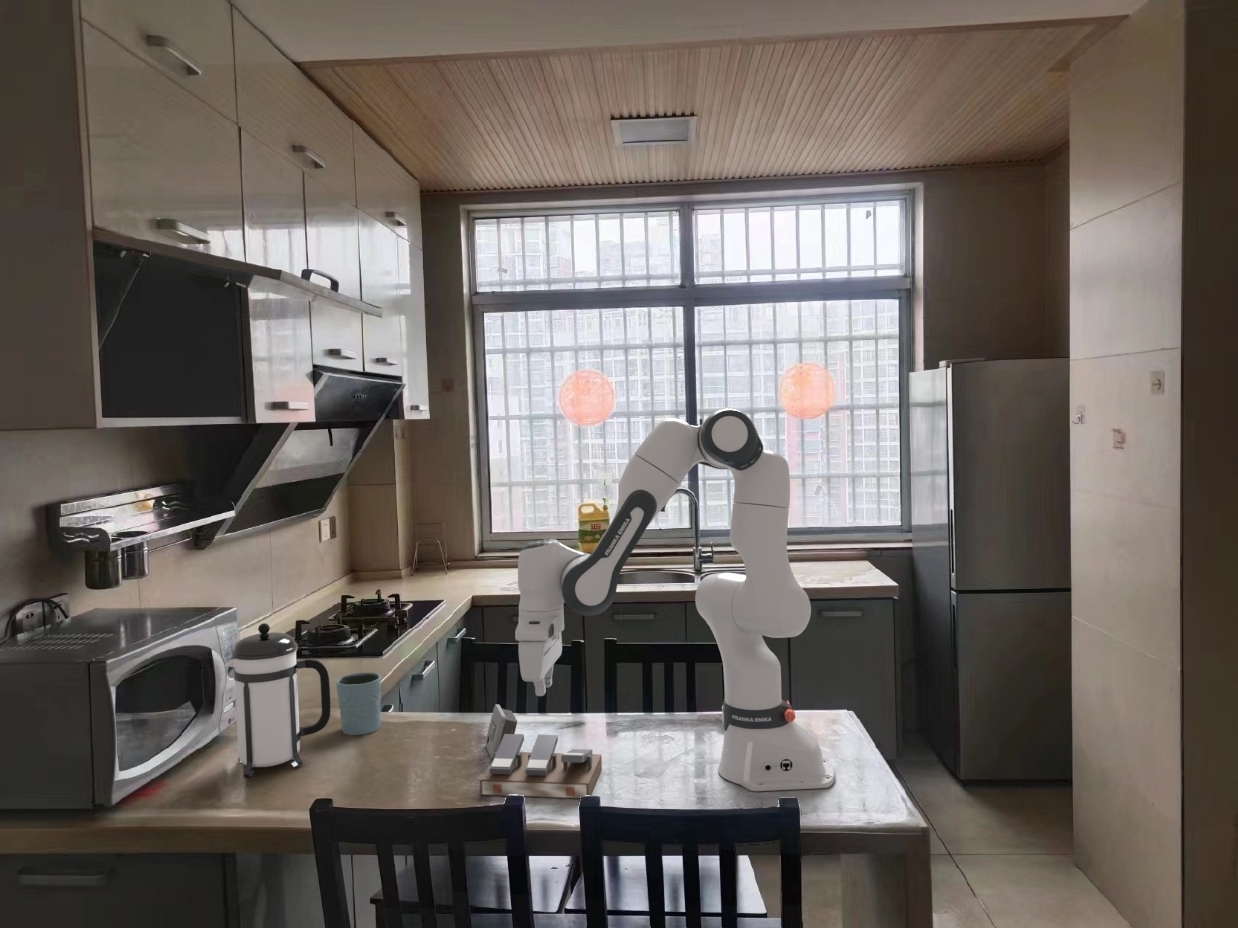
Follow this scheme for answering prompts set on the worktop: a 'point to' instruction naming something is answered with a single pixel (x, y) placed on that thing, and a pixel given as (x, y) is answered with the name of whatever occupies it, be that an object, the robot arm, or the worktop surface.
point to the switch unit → (545, 779)
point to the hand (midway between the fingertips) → (543, 690)
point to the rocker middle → (541, 755)
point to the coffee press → (271, 699)
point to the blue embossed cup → (359, 702)
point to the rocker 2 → (576, 755)
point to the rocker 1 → (507, 754)
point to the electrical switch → (499, 728)
